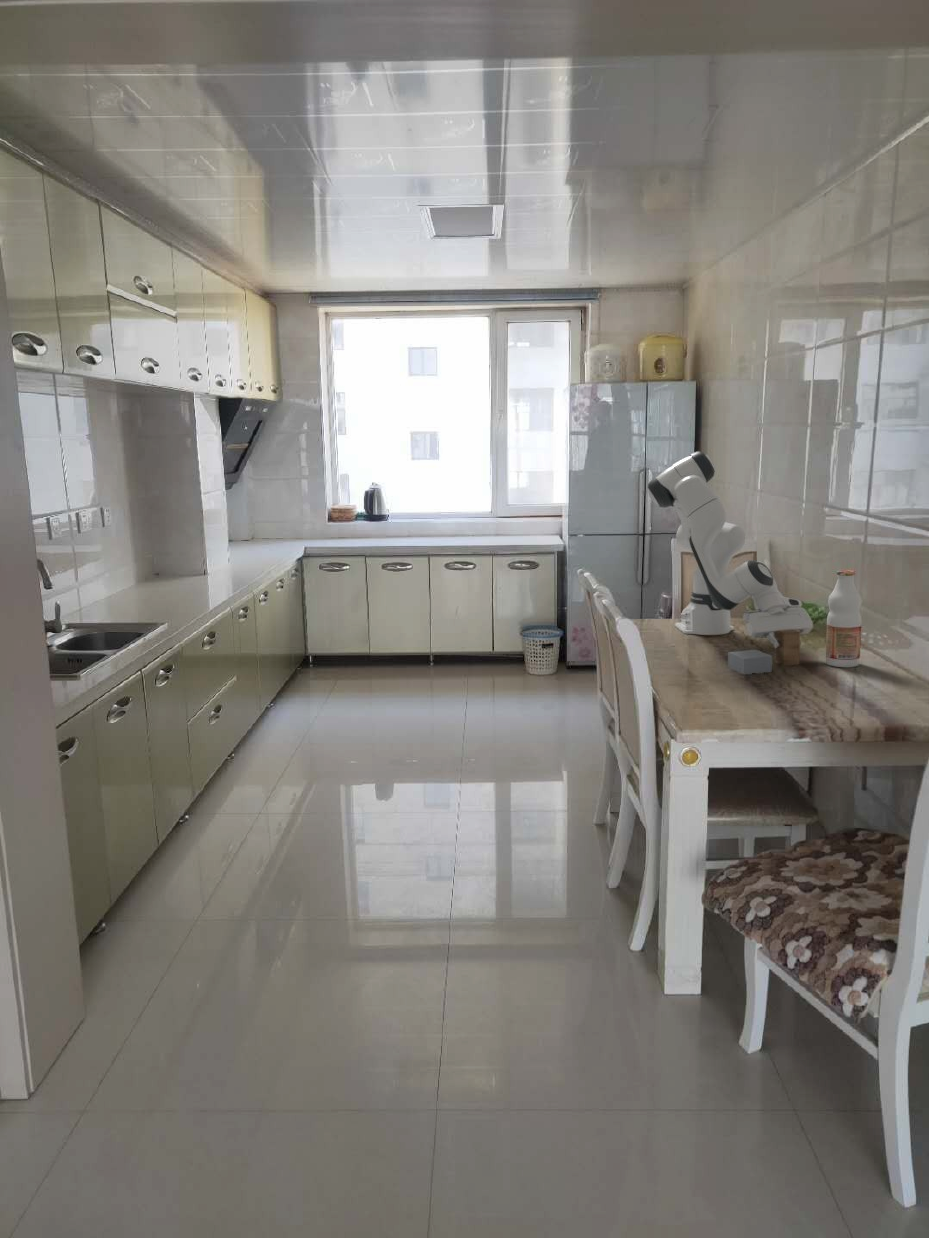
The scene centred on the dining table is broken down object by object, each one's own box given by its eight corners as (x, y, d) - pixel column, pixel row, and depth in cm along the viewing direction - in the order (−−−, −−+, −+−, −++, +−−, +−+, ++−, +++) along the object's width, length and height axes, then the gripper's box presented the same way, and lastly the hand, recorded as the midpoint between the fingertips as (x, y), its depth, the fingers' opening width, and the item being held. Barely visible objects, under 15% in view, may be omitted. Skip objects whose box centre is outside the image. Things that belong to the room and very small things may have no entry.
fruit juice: (818, 663, 270) (821, 570, 265) (841, 658, 274) (844, 567, 269) (843, 669, 262) (847, 574, 257) (866, 665, 266) (870, 571, 261)
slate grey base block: (727, 668, 270) (728, 652, 269) (754, 665, 272) (755, 649, 271) (743, 675, 261) (744, 658, 260) (771, 672, 263) (772, 655, 262)
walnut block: (774, 661, 274) (775, 629, 272) (789, 660, 275) (790, 628, 273) (783, 665, 269) (784, 632, 267) (799, 664, 270) (799, 631, 268)
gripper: (744, 605, 274) (760, 643, 266) (805, 600, 278) (823, 637, 270) (737, 617, 279) (752, 654, 271) (796, 611, 283) (814, 648, 275)
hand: (788, 646), depth 271 cm, fingers closed on walnut block, 5 cm apart
